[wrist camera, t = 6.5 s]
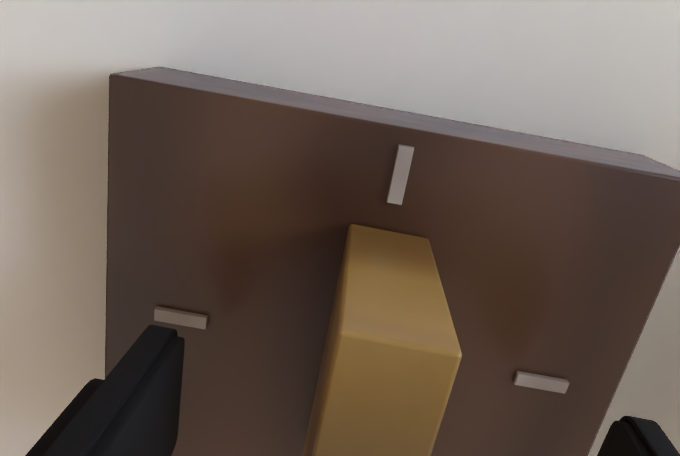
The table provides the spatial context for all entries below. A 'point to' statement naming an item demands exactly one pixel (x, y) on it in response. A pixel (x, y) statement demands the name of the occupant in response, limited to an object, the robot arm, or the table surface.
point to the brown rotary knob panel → (386, 214)
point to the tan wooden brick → (384, 351)
